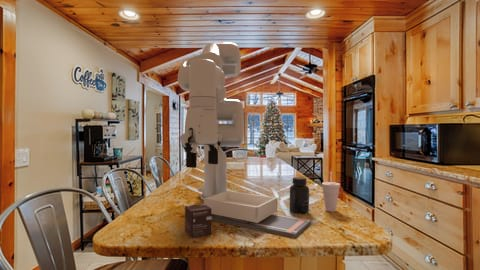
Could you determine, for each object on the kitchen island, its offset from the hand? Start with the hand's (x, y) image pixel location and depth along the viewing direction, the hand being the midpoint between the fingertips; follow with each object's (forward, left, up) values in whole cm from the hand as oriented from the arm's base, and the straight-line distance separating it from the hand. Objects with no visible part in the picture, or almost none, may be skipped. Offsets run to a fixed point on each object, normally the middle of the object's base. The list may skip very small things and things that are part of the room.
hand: (202, 165), depth 79 cm
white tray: (+2, +17, -18) cm, 25 cm away
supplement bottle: (+16, +34, -19) cm, 42 cm away
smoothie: (+25, +42, -19) cm, 53 cm away
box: (-1, -1, -19) cm, 19 cm away
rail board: (+7, +17, -19) cm, 26 cm away
